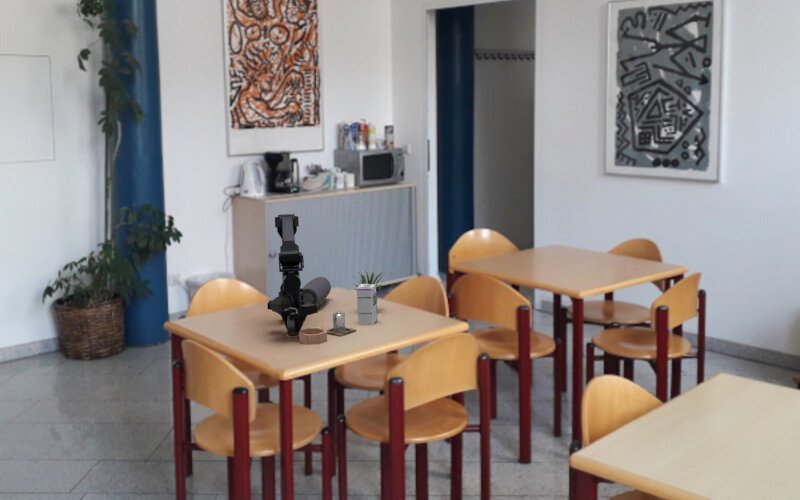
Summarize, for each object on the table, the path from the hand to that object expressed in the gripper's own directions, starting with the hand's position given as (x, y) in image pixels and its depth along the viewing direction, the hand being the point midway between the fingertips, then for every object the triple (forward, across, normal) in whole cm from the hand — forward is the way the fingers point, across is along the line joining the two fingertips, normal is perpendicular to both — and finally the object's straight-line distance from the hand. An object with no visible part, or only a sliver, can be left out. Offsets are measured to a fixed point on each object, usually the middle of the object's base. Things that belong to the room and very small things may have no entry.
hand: (293, 331), depth 305 cm
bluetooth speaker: (+3, -28, +40) cm, 49 cm away
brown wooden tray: (+2, +11, +11) cm, 16 cm away
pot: (+2, +10, -2) cm, 11 cm away
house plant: (+2, -2, +44) cm, 44 cm away
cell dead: (+1, 0, 0) cm, 1 cm away
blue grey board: (+2, 0, +6) cm, 6 cm away
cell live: (+2, +11, +11) cm, 16 cm away
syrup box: (+2, +10, +27) cm, 29 cm away
